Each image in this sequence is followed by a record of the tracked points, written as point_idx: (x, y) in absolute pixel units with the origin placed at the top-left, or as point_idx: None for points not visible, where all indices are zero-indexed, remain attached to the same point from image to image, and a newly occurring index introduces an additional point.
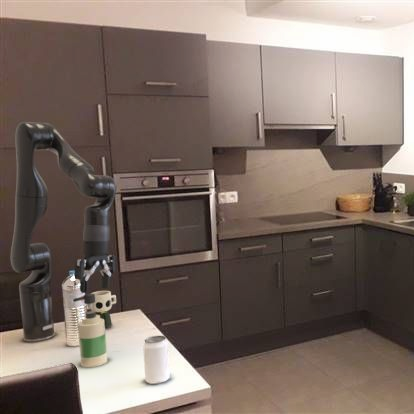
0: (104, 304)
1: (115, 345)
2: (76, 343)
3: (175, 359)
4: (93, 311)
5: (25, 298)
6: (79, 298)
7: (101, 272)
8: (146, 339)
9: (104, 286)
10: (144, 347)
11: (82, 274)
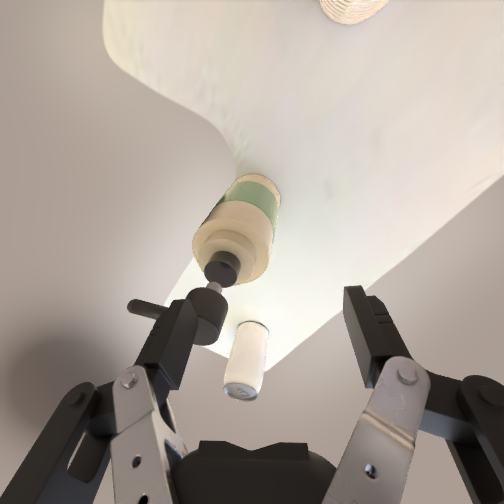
0: None
1: (366, 149)
2: (325, 12)
3: (324, 316)
4: (231, 276)
5: None
6: (151, 317)
7: (368, 403)
8: (234, 382)
9: (346, 306)
10: (224, 377)
11: (99, 454)
